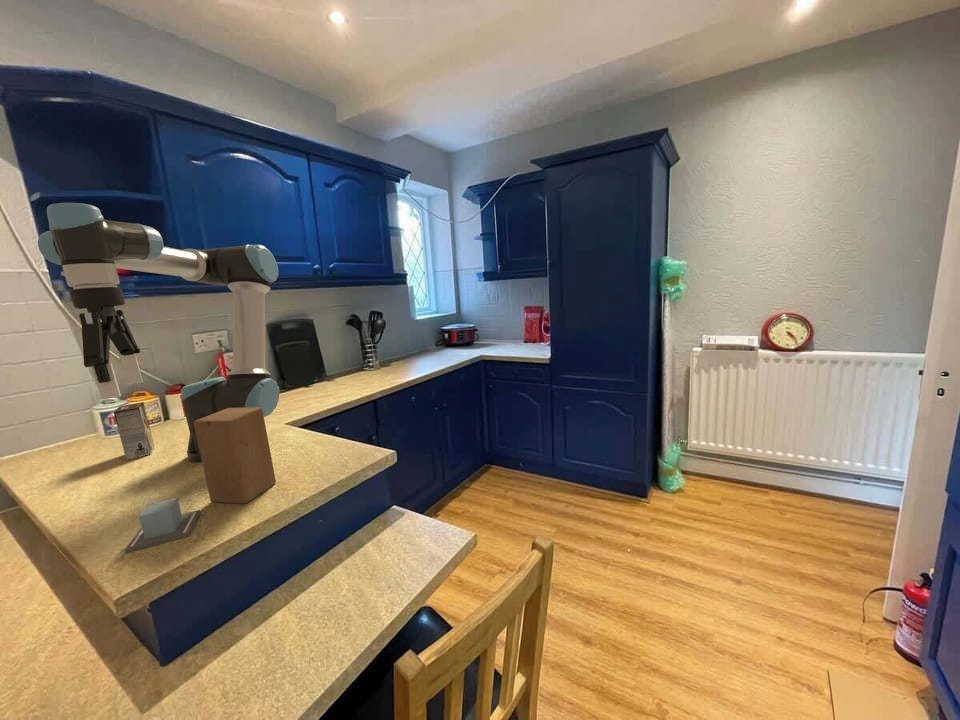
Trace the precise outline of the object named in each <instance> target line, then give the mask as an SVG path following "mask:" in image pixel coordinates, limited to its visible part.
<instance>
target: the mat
mask: <svg viewBox="0 0 960 720" xmlns="http://www.w3.org/2000/svg"><path fill="white" fill-rule="evenodd" d="M201 513H202V511H201V509H197V510H194V511H189V512H185V513H181V514H182V521H181V523H180V525H179V526H178V528H177V530H176V531H175V532H172V533H168V534H164V535H160V536H156V537H152V538H148V539H145V538H144V534H143V531H142V527H140V529H139V530H138V531H137V533H136V534H135V536H134V537H133V538H132V539H131V541H130V542H129V544H128V545H127V546H126V547H125V549H124V552H125V554H127V553H131V552H135V551H138V550H141V549H142V550H143V549H146V548H149V547H153V546H158V545H162V544H165V543H168V542H172V541H175V540H180V539H182V538H187V537H189V536H190V534H191V533H192V530H193V529H194V527H195V525H196V522H197V520H198V519H199V517H200V514H201Z"/></svg>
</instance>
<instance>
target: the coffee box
mask: <svg viewBox="0 0 960 720" xmlns="http://www.w3.org/2000/svg"><path fill="white" fill-rule="evenodd" d="M113 414H114V419H115V422H116V428H117V430H118V434H119V437H120V441H121V445H122V449H123V453H124V457H125V461H129V460H128V459H131V460H133V459H132V458H135V459H138V458H137V457H139V458H142V457H141V456H144V457H146V456H145V455H148V456H150V455H149V454H151V455H152V453H153V451H154V449H155V447H154V446H155V443H154V439H153V435H152V430H151V427H150V422H149V419H148V414H147V410H146V406H145V403H144V401H141V402H136V403H130V404H125V405H121V406H120V405H119V406H118V407H117V408H116V409H115V410H114V411H113Z"/></svg>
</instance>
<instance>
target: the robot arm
mask: <svg viewBox="0 0 960 720" xmlns="http://www.w3.org/2000/svg"><path fill="white" fill-rule="evenodd" d="M46 215H47V216H46V217H47V220H48V226H49V230H47V231H44V232H43V233H41V234H40V235H39V236H38V239H37V247H38V250H39V252H40V254H41V255H42V256H43V257H44V258H45V259H46V260H47V261H49V262H50V263H53V264H55V265H58V266H61V267H62V271H61V272H60V275H61V276H63V277H65V281H66V284H67V286H68V287H70V288H72V289H70V291H69V296H70V299H71V301H72V305H73V307H74V308H75V309H77V310H81V309H82V310H83V309H86V310H87V311H86V312H83V313H79V315H78V317H79V319H80V320H79V321H80V325H81V336H82V337H81V339H82V340H81V341H82V352H83V356H82V357H83V365H84V367H85V368H90V367H91V368H92V371H93V374H94V378H95V381H96V385H97V388H98V393H99V396H100V399H101V401H103V400H108V399H115V398H120V397H122V394H121V391H120V387H119V383H118V379H117V376H116V373H115V370H114V366H113V365H114V364H113V363H110V346H111V343H113V345H114V347H115V348H116V350H117V351H118V353H119V354H120V355H119V356H118V357H119V362H120V365H121V368H122V372H123V375H124V379H125V383H126V386H129V385H130V386H131V385H136V384H142V383H144V378H143V376H142V372H141V369H140V364H139V362H138V359H137V358H138V356H137V354H140V353H141V348H139V346H138V345H137V343H136V340H135V338H134V335H133V334H132V331H131V330H130V327H129V325H128V323H127V321H126V318H125V314H124V311H123V310H122V309H116V308H115V307H118V306H124V305H125V304H126V302H125V298H124V293H123V290H122V288H120V287H119V286H118V285H120V283H121V281H120V278H119V275H118V274H119V273H118V271H117V269H121V270H129V271H134V272H135V271H136V272H144V273H151V274H159V275H165V276H166V275H168V276H174V277H181V278H182V279H183V280H185V281H187V282H188V281H189V282H195V283H201V284H209V285H215V286H227V288H228V289H229V290H230V291H231V292H232V294H233V296H232V297H233V299H232V302H233V303H232V305H233V306H232V307H233V308H232V312H233V313H232V315H233V316H232V317H233V318H232V322H233V323H232V327H233V328H232V334H233V335H232V369H231V370H230V371H229V372H228V373H227V374H226V378H225V376H218V377H217V376H216V377H213V378H212V377H211V378H208V379H204V380H201V381H200V380H199V381H196V382H193V383H189V384H187V385H185V386H184V385H183V386H182V388H181V390H180V395H181V403H182V406H183V410H184V414H185V418H186V423H187V427H188V431H189V437H188V444H187V449H186V455H187V456H186V457H187V460H188V461H189V462H194V463H200V462H201V463H202V460H201V455H200V451H199V446H198V442H197V437H196V433H195V428H194V424H193V422H194V421H195V420H198V419H200V418H203V417H206V416H208V415H211V414H214V413H216V412H219V411H222V410H224V409H227V408H252V407H261V408H262V410H263V415H264V418H266V417H267V416H269V415H271V414H272V413H273V412H274V410H275V409H276V408H277V406H278V404H279V401H280V387H279V386H278V383H277V381H276V380H274V379H272V378H271V376H272V374H271V373H270V371H268V370H267V369H266V294H267V293H269V292H270V291H271V283H274V282H276V281H277V279H278V277H279V267H278V264H277V260H276V258H275V257H274V254H273V253H272V251H270V250H269V249H268V248H266V247H265V246H264V245H261V244H245V245H239V246H238V245H237V246H229V247H228V246H227V247H218V248H217V247H215V248H207V249H194V248H185V249H178V248H173V247H168V246H165V245H164V240H163V237H162V235H161V234H160V232H159V231H158V230H156V228H154V227H152V226H149V225H148V226H147V225H143V224H140V223H137V222H136V223H132V222H122V221H116V220H108V219H104V215H102V211H101V209H100V208H99V207H97V206H94V205H93V204H87V203H81V202H79V203H78V202H59V203H52V204H49V205H48V206H47V208H46Z"/></svg>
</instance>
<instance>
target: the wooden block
mask: <svg viewBox="0 0 960 720" xmlns="http://www.w3.org/2000/svg"><path fill="white" fill-rule="evenodd" d="M193 424H194V428H195V433H196V437H197V442H198V446H199V451H200V455H201V460H202V462H201V463H202V468H203V474H204V476H205V477H204V479H205V481H206V487H207V491H208V495H209V499H210V502H211V503H222V504H223V503H224V504H248V503H249V502H250V501H253V499H255V498H257V497H258V496H259V495H261V494H263V493H264V492H265V491H266V490H268V489H269V488H271V487H272V486H273V485H275V484H276V482H277V481H276V480H277V479H276V475H275V470H274V465H273V458H272V453H271V448H270V442H269V438H268V437H269V436H268V433H267V432H268V431H267V427H266V421H265V417H264V415H263V410H262V408H261V407H252V408H227V409H224V410H222V411H219V412H216V413H214V414H211V415H208V416H206V417H203V418H200V419H198V420H195V421H194V422H193Z"/></svg>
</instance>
